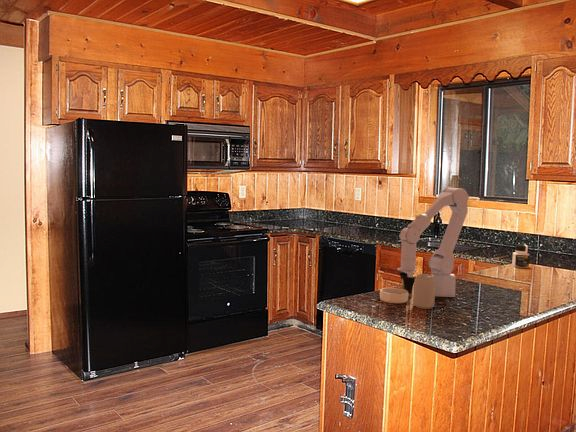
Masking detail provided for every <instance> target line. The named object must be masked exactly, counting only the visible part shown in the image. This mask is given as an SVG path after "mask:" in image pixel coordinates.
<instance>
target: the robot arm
mask: <svg viewBox="0 0 576 432" xmlns="http://www.w3.org/2000/svg"><path fill="white" fill-rule="evenodd" d="M469 198H470V196H469V194H468V192H467V191H466V189H465V188H463V187H460V188H457V187H445V188H444V189H443V190H442V191H441V192H440V193H439V194H438V197H437V198H435V200H434V201H433V203H432V204H431V205H430V206H429V207H428V209H426V210H425V212H424V213H420V214H417V215H415V218H414V220H413V221H412V222H410V223H408V225H407V227H404V228H403V229H401V231H400V232H399V235H398V237H399V239H400V241H401V247H400V249H401V250H400V267H398V268H397V271H399V272H398V274H399V276H400V279H401V281H400V282H402V278H403V281H404V287H405V290H407V291H408V294H411V292H412V293H413V290H412V288H414V283H415V278H416V277H417V276H414V273H415V272H416V271H417V269H416V259H417V257H416V256H417V255H416V254H417V242H418V241H420V237H421V235H422V233H423V232H424V231H425V230H426V229H427V228H428V227H429V226H430V225H431V222H432V221H431V220H433V218H434V217H435V216H436V215H437V214H438V213H439V212H441V210H442V209H444V208H445V207H449V208H450V210H451V216H450V219H449V221H448V224H447V227H446V230H445V233H444V235H443V237H442V240H441V241H440V245H439V248H438V249H436V250H435V251H434V252H433V255H432V256H431V257H430V258H429V259H428V267H429V268H430V272H431V273H430V275H433V276H434V277H433V278H434V279H435V280H436V281H435V297H443V298H444V297H445V298H448V297H449V298H455V297H456V284H457V283H456V280H457V279H456V275H455V274H454V273H452V272H453V270H454V267H455V266H454V265H455V264H454V262H455V256H454V253H453V252H454V250H455V247H456V244H457V242H458V239H459V236H460V233H461V231H462V228H463V226H464V224H465V220H466V217H467V215H468V210H469V208H468V201H469Z"/></svg>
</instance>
